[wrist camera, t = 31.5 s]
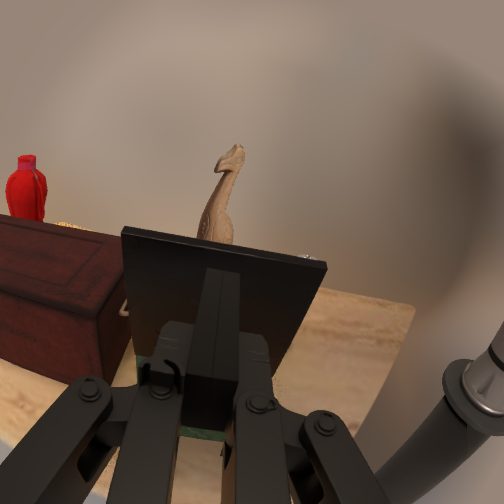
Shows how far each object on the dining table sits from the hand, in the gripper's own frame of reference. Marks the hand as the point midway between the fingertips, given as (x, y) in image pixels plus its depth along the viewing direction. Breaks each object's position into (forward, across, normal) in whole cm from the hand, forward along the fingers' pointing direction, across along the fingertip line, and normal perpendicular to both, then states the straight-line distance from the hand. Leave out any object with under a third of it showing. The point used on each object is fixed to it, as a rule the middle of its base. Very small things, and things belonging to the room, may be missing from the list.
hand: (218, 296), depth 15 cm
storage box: (+25, -30, -28) cm, 48 cm away
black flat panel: (+8, 0, -7) cm, 11 cm away
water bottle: (+43, -44, -28) cm, 67 cm away
